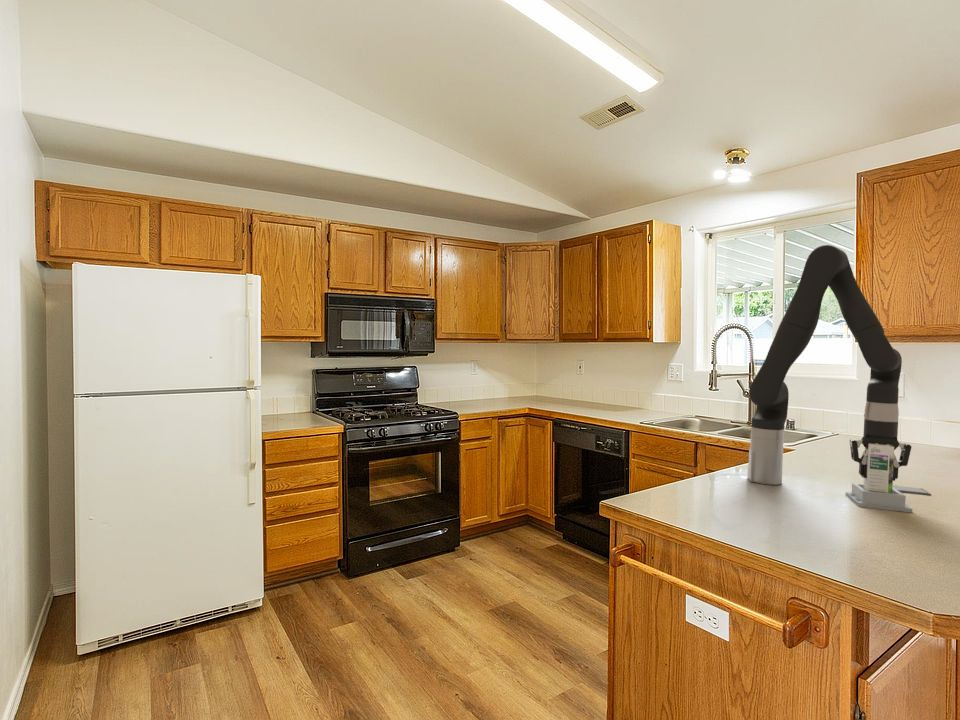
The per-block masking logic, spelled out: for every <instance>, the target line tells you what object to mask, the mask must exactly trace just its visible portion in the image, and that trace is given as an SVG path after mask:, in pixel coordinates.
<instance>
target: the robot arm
mask: <svg viewBox="0 0 960 720" xmlns="http://www.w3.org/2000/svg"><path fill="white" fill-rule="evenodd" d="M798 282H799V283H798V285H797V288H796V290H795V293H794V294H793V296H792V298H791V301H790V302H789V304H788V307H787V308H786V310H785V313H784V315H783V316H782V318H781V320H780V323H779V326H778V328H777V329H776V330H777V331H776V333H775V335H774V338H773V340H772V342H771V344H770V346H769V350H767V351H768V352H767V355H766V357H765V359H764V361H763V363H762V365H761V366H760V369H759V370H758V372H757V374H756V375H755V377H754V378H753V380H752V382H751V384H750V385H749V388H748V389H749V390H748V395H749V398H750V401H751V403H753V404H754V405H755V406H756V408H755V409H756V410H755V413H754V415H753V417H752V418H751V423H750V426H751V427H750V444H749V445H750V446H749V449H748V469H747V470H748V471H747V478H748V480H749V482H750V483H751V482H753V483H757V484H763V485H771V486H772V485H773V486H777V485H782V483H783V464H784V463H783V461H784V439H785V438H784V437H785V423H786V422H787V419H788V410H789V388H788V385H787V384H786V382H785V378H786V376H787V374H788V371H789V370H790V368H791V367H792V365H793V364H794V363H795V362H796V360H797V359H798V358H799V357H800V356H801V355H802V353H803V352H804V351H805V350H806V348H807V346H808V345H809V343H810V342H811V339H812V337H813V336H814V333H815V330H816V328H817V325H818V322H819V319H820V313H821V307H822V302H823V299H824V295H825V293H826V291H827V289H828V287H829V288H830V290H831V291H832V293H833V295H834V297H835V299H836V300H837V303H838V306H839V309H840V312H841V315H842V317H843V319H844V321H845V323H846V326H847V328H848V330H850V332H851V334H852V337H854V339H855V340H856V342H857V344H858V347H859V349H860V351H861V354H862V356H863V359H864V361H865V363H866V364H867V365H868V367H869V368H870V375H869V377H870V379H869V382H868V384H867V387H866V399H865V401H866V403H865V407H864V413H863V417H864V418H863V419H864V420H863V436H862V437H861V439H853V438H851V439H849V447H850V457H851V458H850V459H852V460H853V462H855V463H856V462H857V463H858V474H859V476H861V477H862V478H863V479H864V478H867V465H866V464H867V460H868V453H866V449H867V450H868V444H869V443H873V444H877V445H879V444H885V445H893V446H894V451H895V450H897V449H899V450H900V455H899V459H898V460H897V456H896V454H895V453H894V464H893V482H895V481H896V480H897V479H898V478H899V468H900V467H907V466H908V463H909V460H910V456H911V452H912V445H911V444H909V443H905V442H904V443H902V442H900V441H899V439H898V433H899V431H898V430H899V417H900V416H899V415H900V414H899V413H900V412H899V393H900V391H899V384H900V377H901V371H902V356H901V353H900V352H899V351H898V350H897V349H895V348H894V347H893V346H892V345H891V343H890V341H889V340H888V337H887V336H886V335H885V329H884V327H883V326H882V323H881V322H880V320H879V318H878V317H877V314H876V313H875V311H874V310H873V309H872V306H871V305H870V303H869V302H868V300H867V299H866V297H865V295H864V294H863V292H862V290H861V289H860V287H859V284H858V283H857V280H856V278H855V275H854V272H853V270H852V267H851V263H850V261H849V258H848V255H847V253H846V252H845V251H844V250H843V249H842V248H841V249H840V248H839V247H836V246H834V245H830V244H825V245H823V244H822V245H819V246H818V247H816V248H814V249H813V250H812V251H811V252H810V254H809V255H808V256H807V258H806V260H805V264H804V267H803V270H802V274H801V276H800V279H799V281H798ZM861 445H862V446H863V447H864V451H863V452H862V454H861V457H860V455H859V454H860V453H859V448H860V447H861ZM898 447H899V448H898ZM865 448H866V449H865Z"/></svg>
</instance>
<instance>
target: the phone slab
mask: <svg viewBox="0 0 960 720" xmlns="http://www.w3.org/2000/svg"><path fill="white" fill-rule="evenodd" d="M892 487H893V488H895V489H896V490H898V491H899V492H901V493H902V494H913V495H914V494H915V495H922V496H929V497H930V496H932V493H931V492H929V491H927V490H925V489H923V488H921V487H912V486H903V485H902V486H901V485H893V486H892Z"/></svg>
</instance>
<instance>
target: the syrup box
mask: <svg viewBox="0 0 960 720" xmlns="http://www.w3.org/2000/svg"><path fill="white" fill-rule="evenodd" d="M865 449H866V448H865V447H864V450H865ZM866 453H868V460H867V464H866V465H867V478H863V483H862V484H863V489H864V490H866V491H872V492H882V493H892V486H894V484H893V482H894V481H893V464H894V454H895V450H894V446H893V445H885V444H879V445H877V444H873V443H869V444H868V450H867V449H866Z"/></svg>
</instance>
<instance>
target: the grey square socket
mask: <svg viewBox="0 0 960 720" xmlns="http://www.w3.org/2000/svg"><path fill="white" fill-rule="evenodd" d="M863 484H864V483H856V482H852V483H851V491H845V496H846V497H847V498H848V499H849V500H851V502H852V503H854V504H855V505H856V506H857V507H860V508H869V509H878V510H888V511H896V512H906V513H913V508H912V507H911V506H909V505H908V504H906V501H907V500H906V497H907V496H906V494H905V493H902V492H899V491H898V490H896V489H895V488H893V487H892V493H882V492H872V491H866V490H864V489H863Z"/></svg>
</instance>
